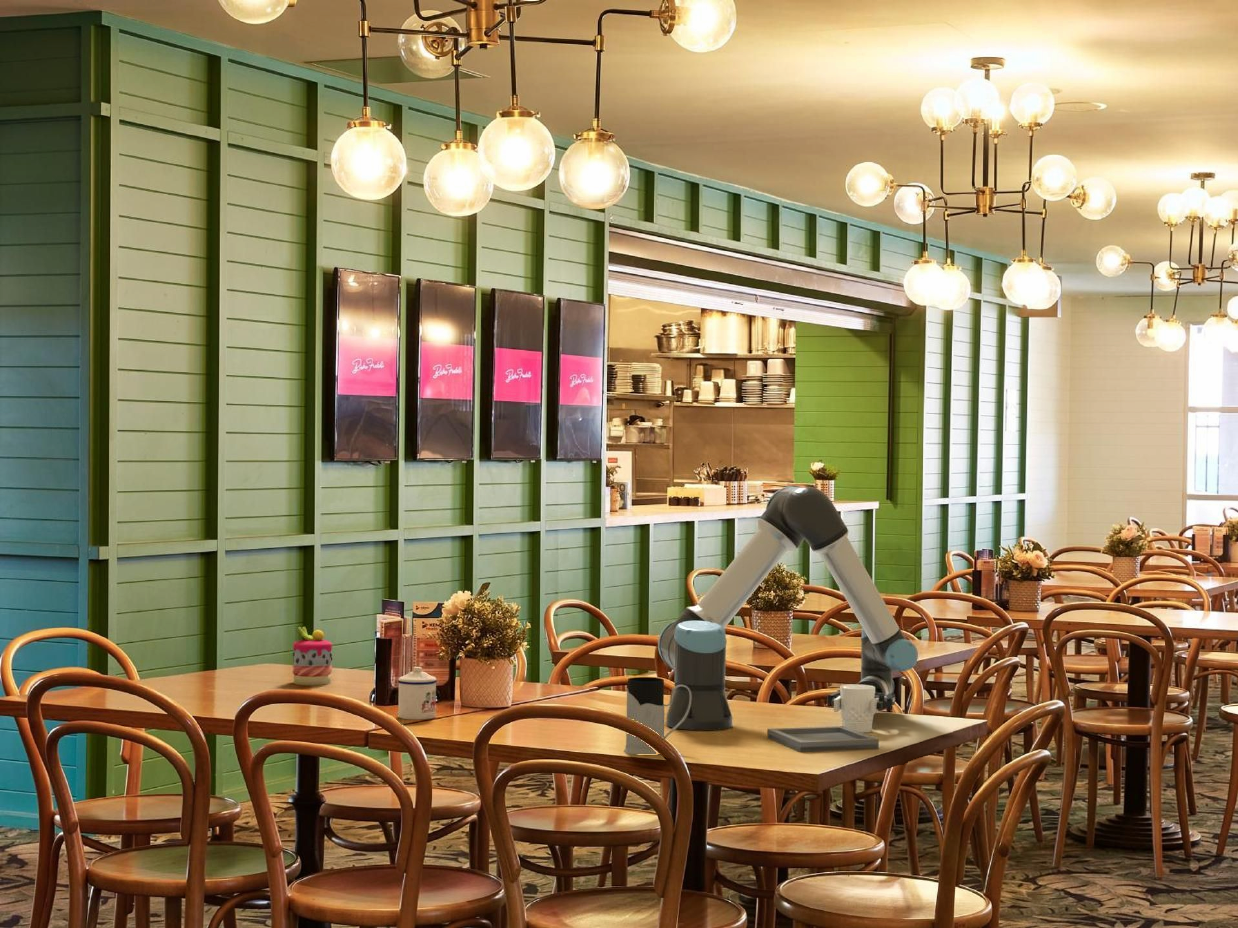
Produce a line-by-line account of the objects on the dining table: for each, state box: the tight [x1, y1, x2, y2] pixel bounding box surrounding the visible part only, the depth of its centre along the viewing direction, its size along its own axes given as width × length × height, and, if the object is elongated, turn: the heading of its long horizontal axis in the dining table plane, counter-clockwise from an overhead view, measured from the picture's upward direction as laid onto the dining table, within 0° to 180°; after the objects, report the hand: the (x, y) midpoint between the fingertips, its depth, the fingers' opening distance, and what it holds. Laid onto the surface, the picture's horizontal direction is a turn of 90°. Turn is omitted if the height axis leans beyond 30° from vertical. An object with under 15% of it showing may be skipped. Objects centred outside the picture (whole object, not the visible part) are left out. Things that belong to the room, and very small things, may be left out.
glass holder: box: [623, 676, 692, 755], centre depth 330 cm, size 9×14×15 cm, turn 103°
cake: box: [292, 626, 333, 686], centre depth 428 cm, size 10×11×15 cm
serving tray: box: [766, 725, 880, 753], centre depth 343 cm, size 18×18×2 cm
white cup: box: [839, 683, 875, 734], centre depth 360 cm, size 8×8×10 cm
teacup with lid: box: [397, 666, 438, 721], centre depth 373 cm, size 12×9×12 cm
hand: (853, 706), depth 356 cm, fingers closed on white cup, 8 cm apart
